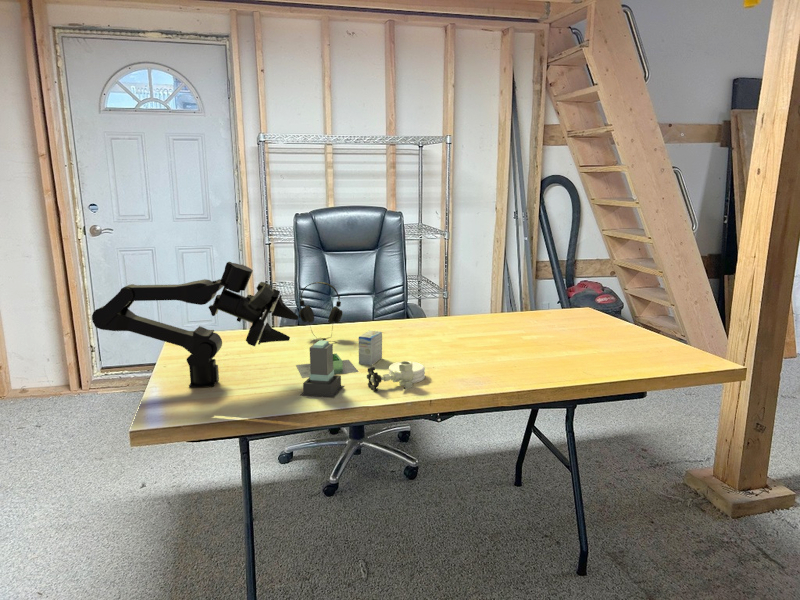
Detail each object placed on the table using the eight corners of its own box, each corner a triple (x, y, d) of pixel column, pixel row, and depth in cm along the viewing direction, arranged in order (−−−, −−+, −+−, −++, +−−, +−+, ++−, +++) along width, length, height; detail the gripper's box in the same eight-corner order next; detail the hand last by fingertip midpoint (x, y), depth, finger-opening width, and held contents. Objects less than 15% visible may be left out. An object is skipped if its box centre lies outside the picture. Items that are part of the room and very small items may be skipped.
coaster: (432, 378, 156) (432, 366, 156) (406, 387, 150) (406, 374, 149) (407, 370, 163) (407, 358, 163) (381, 378, 157) (381, 366, 156)
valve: (407, 381, 154) (366, 388, 149) (408, 358, 152) (366, 364, 147) (418, 389, 148) (375, 396, 143) (418, 365, 146) (375, 371, 142)
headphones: (293, 343, 190) (290, 285, 186) (303, 335, 201) (301, 280, 197) (336, 345, 188) (334, 286, 184) (344, 336, 199) (343, 281, 195)
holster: (299, 397, 142) (299, 384, 141) (312, 385, 150) (312, 372, 150) (333, 400, 140) (333, 386, 139) (344, 387, 148) (344, 374, 148)
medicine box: (369, 357, 175) (369, 330, 174) (382, 358, 174) (382, 331, 172) (358, 364, 168) (357, 336, 167) (372, 366, 167) (371, 337, 165)
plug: (310, 393, 143) (308, 344, 141) (317, 386, 148) (315, 339, 145) (328, 394, 142) (326, 345, 140) (334, 387, 147) (333, 340, 144)
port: (302, 380, 155) (301, 367, 154) (295, 367, 166) (295, 355, 165) (358, 373, 160) (358, 361, 159) (348, 361, 171) (348, 350, 170)
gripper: (234, 303, 137) (294, 328, 139) (257, 264, 152) (311, 287, 155) (223, 335, 143) (281, 358, 145) (246, 295, 158) (298, 316, 161)
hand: (293, 328), depth 151 cm, fingers open, 9 cm apart
